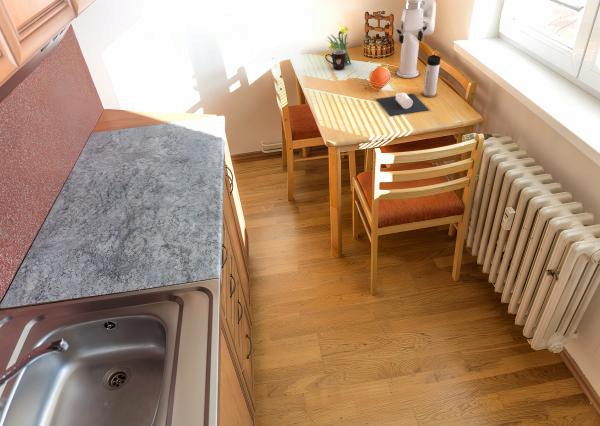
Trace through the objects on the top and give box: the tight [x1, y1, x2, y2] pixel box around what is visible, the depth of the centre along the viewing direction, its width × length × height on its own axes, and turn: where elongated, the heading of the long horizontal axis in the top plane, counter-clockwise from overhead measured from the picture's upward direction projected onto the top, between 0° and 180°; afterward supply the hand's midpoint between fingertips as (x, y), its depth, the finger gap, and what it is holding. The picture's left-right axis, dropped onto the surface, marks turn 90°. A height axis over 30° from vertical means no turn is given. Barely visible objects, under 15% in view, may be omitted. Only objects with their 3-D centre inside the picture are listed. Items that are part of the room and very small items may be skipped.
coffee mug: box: [325, 49, 346, 71], centre depth 270 cm, size 12×9×10 cm
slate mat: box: [376, 93, 430, 117], centre depth 229 cm, size 20×20×1 cm
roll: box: [395, 92, 413, 109], centre depth 227 cm, size 6×12×6 cm, turn 13°
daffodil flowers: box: [326, 21, 352, 66], centre depth 284 cm, size 17×15×35 cm
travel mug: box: [423, 54, 441, 98], centre depth 230 cm, size 6×7×20 cm
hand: (410, 41), depth 225 cm, fingers open, 9 cm apart
